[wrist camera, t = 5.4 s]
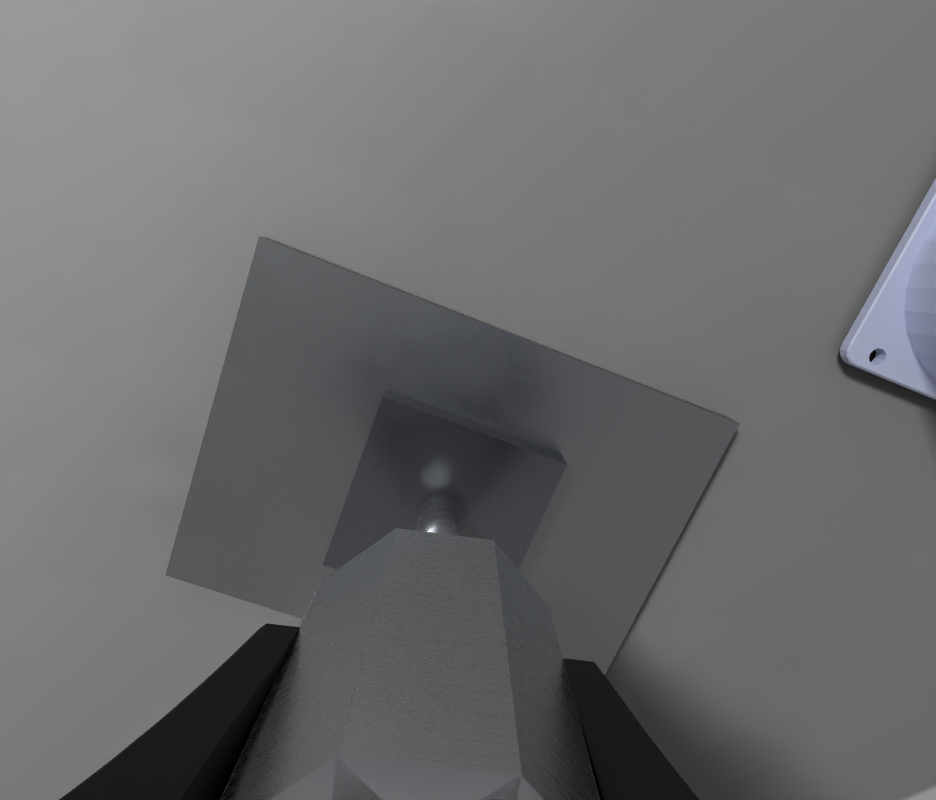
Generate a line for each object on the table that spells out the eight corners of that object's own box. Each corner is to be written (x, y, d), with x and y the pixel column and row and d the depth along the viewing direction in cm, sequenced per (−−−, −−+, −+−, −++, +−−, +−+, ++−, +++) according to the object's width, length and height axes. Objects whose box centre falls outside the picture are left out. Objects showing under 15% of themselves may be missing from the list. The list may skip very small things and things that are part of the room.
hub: (562, 548, 10) (649, 789, 6) (523, 738, 12) (567, 1074, 7) (325, 519, 10) (201, 742, 5) (309, 715, 11) (194, 1046, 7)
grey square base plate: (730, 418, 17) (860, 490, 12) (583, 696, 20) (630, 864, 14) (266, 237, 16) (156, 219, 10) (175, 565, 18) (47, 695, 13)
